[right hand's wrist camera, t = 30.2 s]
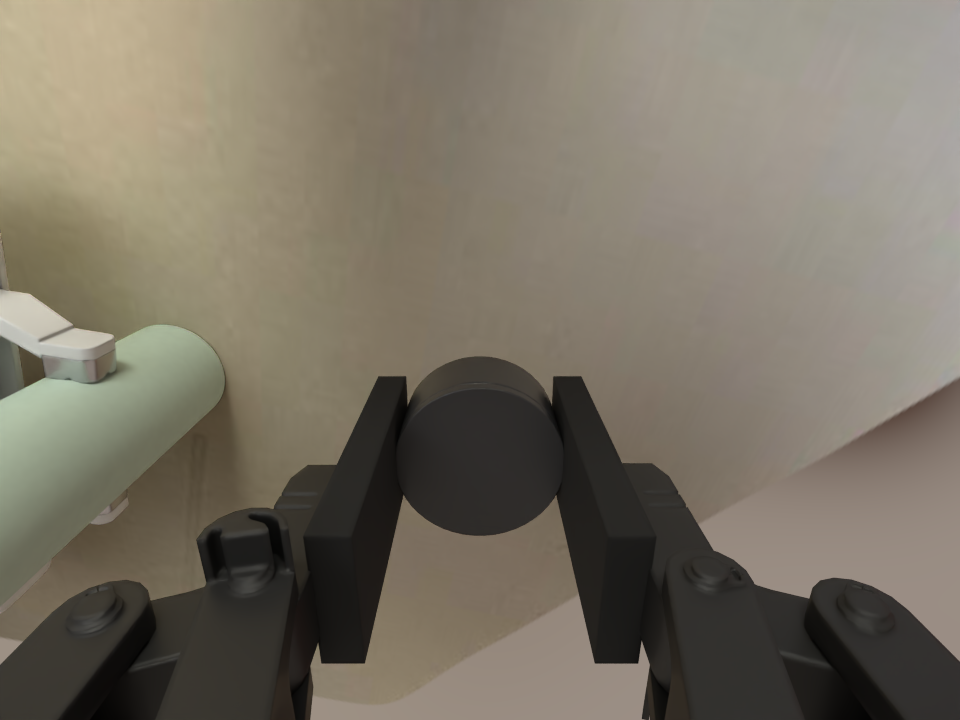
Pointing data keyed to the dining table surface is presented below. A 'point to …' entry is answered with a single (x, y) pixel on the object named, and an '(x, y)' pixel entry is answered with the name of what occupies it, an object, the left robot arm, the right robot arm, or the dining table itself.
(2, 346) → the left robot arm
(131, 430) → the bottle
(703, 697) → the right robot arm
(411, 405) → the cap
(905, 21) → the dining table surface
